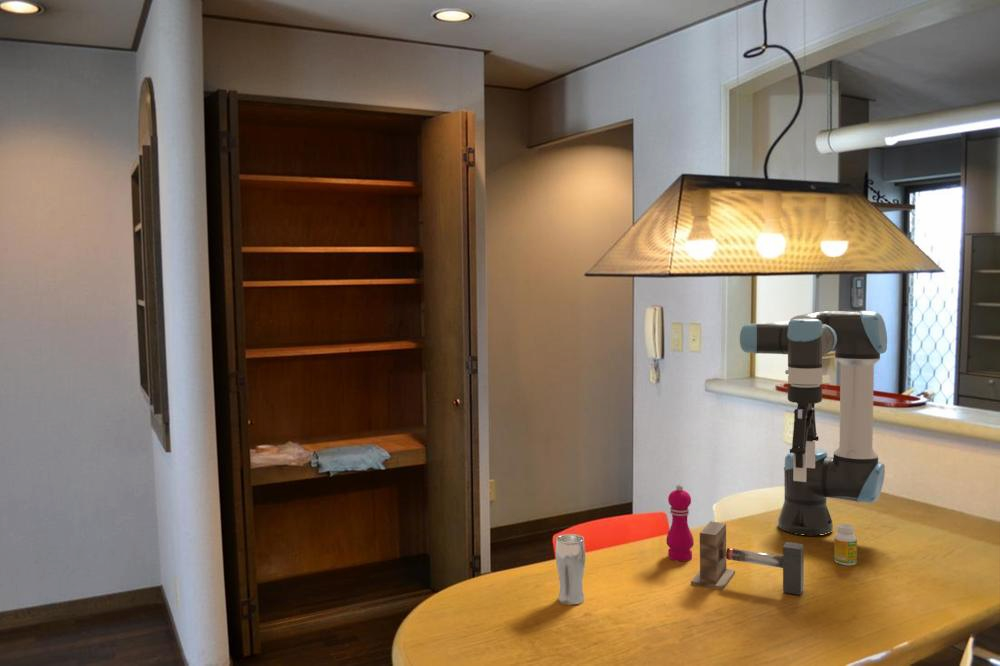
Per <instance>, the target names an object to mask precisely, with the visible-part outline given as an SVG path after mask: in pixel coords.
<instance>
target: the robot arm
mask: <svg viewBox="0 0 1000 666" xmlns="http://www.w3.org/2000/svg"><path fill="white" fill-rule="evenodd" d="M739 345H740V348H741V350H742V351H743V352H744V353H749V354H754V355H755V354H756V355H757V354H764V355H766V354H768V355H769V354H771V355H773V354H775V355H787V370H786V369H785V372H784V373H785V374H786V375H787V383H789V384H788V386H787V400H788V401H789V402H790V403H793V404H794V403H796V404H797V407H796V409H795V408H794V410H793V413H794V416H793V417H794V418H793V429H792V441H791V442H792V443H791V448H790V449H789V453H787V454H786V456H785V457H784V467H783V471H784V482H783V483H784V501H783V505H782V507H781V511H780V512H779V516H778V520H777V521H778V522H777V526H779V527H780V528H781V529H783V530H785V531H788V532H792V533H797V534H804V535H820V534H825V533H828V532H831V531H832V530H833V531H834V527H833V526H834V524H833V519H832V517H831V514H830V511H829V508H828V505H827V498H829V499H830V498H831V499H838V500H844V501H850V502H856V503H867V504H874V503H875V502H876V501H877V500H879V497H880V495H881V492H882V489H883V485H884V482H885V481H884V480H885V473H886V469H885V467H886V466H885V463H883V462H881V461H879V454H878V453H876V452H875V450H874V449H873V435H874V433H873V431H874V429H873V427H874V387H875V386H874V384H875V383H874V379H875V378H874V377H875V376H874V375H875V374H874V373H875V372H874V371H875V365H876V364H877V363H878V362H879V361H880V360H881V355H882V354H885V353H886V352H887V349H888V333H887V329H886V323H885V320H884V318H883V316H882V314H880V313H879V312H877V311H869V310H821V311H814V312H809V313H803V314H800V315H796V316H793V317H792V318H790V319H789V320H783V321H775V322H770V323H755V322H754V323H746V324H744V325H742V326H741V329H740V332H739ZM830 352H834V359H835V360H836V361H837V362H838V363H839V364H840V384H839V385H840V389H839V391H840V392H839V395H840V396H839V398H840V399H839V442H838V443H839V444H838V445H839V447H838V448H837V449H836V450H835V451H834V452H833V456H832V457H830V456H828V452H827V451H826V450H822V449H816V441H817V442H819V439H820V438H819V436H818V433H817V427H816V426H817V425H816V416H815V415H816V409H815V404H819V403H821V402H822V401H823V387H822V386H821V385H822V384H823V356H824V355H827V354H829V353H830ZM779 527H778V528H779ZM780 528H779V529H780ZM781 529H780V530H781ZM783 530H782V531H783ZM785 531H784V532H785ZM833 531H832V532H833ZM788 532H787V533H788Z"/></svg>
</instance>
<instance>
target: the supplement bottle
mask: <svg viewBox="0 0 1000 666" xmlns="http://www.w3.org/2000/svg"><path fill="white" fill-rule="evenodd" d="M836 527H837V532H835V534H834V538H833V539H834V545H833V547H834V552H833V553H834V556H833V557H834V558H833V559H834V562H835V563H837V564H838V563H839V564H838V565H841V564H842V565H843V566H854V565H856V564H857V562H858V537H857V535H856V534H855V527H854V525H852V524H849V523H838V524H837V526H836ZM842 565H841V566H842Z"/></svg>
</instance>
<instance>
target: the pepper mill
mask: <svg viewBox="0 0 1000 666" xmlns="http://www.w3.org/2000/svg"><path fill="white" fill-rule="evenodd" d="M675 488H676V489H675V490H673V491H671V492H670V493H669V495H668V499H667V500H668V504H669V505H670V506H671V507H670V508H669V510H670V514H671V517H672V520H671V525H670V528H669V530H668V532H667V535H666V540H665V541H666V545H667V546H668V547H669V549H668V554H667V555H668V558H669V559H670V560H673V561H676V562H677V561H678V562H688V561H690V560H692V559H693V551H692V550H691V549H692V548H693V546H694V536H693V534H692V531H691V529H690V527H689V523H688V517H689V516H688V515H689V514H690V508H689V507H690V505H691V504H692V497H691V495H690V494H689V493H688V491H686V490H683V489H684V487H683V485H682V484H677V485H676V487H675ZM687 560H688V561H687Z"/></svg>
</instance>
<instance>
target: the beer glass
mask: <svg viewBox="0 0 1000 666" xmlns="http://www.w3.org/2000/svg"><path fill="white" fill-rule="evenodd" d="M555 543H556V544H555V563H556V569H557V574H558V580H559V594H558V601H559V602H560V603H561V604H562V603H564V604H563V605H566V604H570V605H569V606H576V605H575V604H578V605H580V603H581V604H583V603H584V602H583V601H585V595H584V591H583V580H584V573H585V568H586V566H585V565H586V546H585V537H584V536H582V535H580V534H576V533H575V534H574V533H565V534H560V535H558V536H556V541H555ZM582 602H583V603H582ZM573 604H574V605H573Z"/></svg>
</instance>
